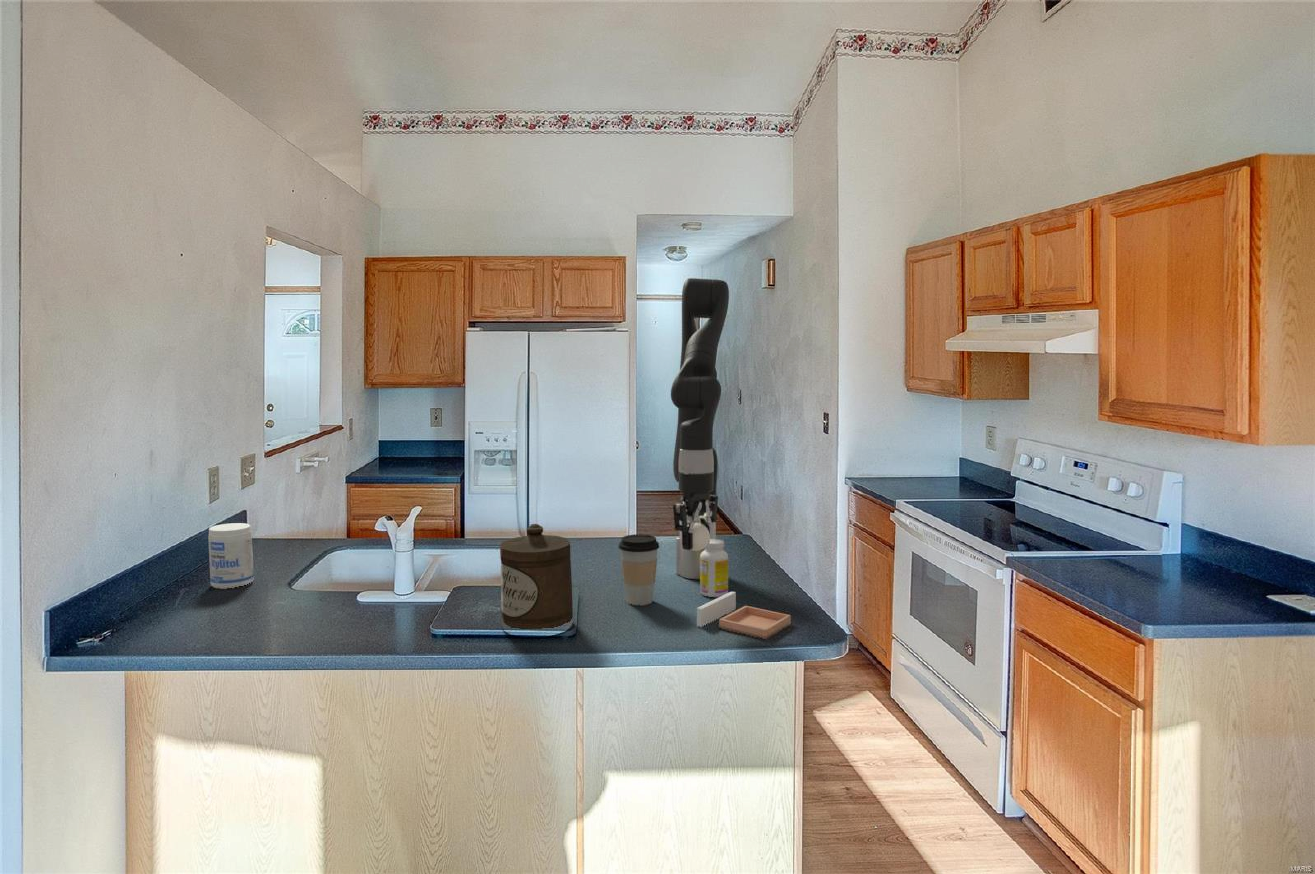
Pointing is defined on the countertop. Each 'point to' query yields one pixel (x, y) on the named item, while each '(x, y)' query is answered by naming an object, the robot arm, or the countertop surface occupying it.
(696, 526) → the ball
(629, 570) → the coffee cup
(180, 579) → the countertop surface
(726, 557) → the supplement bottle
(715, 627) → the countertop surface
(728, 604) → the wall
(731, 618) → the dish
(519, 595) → the wooden container
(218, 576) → the supplement tub
